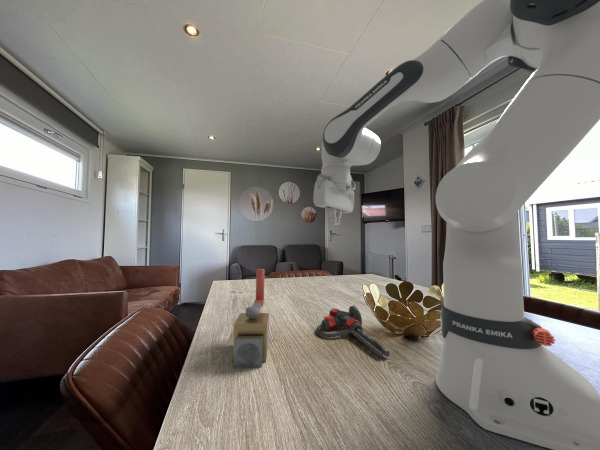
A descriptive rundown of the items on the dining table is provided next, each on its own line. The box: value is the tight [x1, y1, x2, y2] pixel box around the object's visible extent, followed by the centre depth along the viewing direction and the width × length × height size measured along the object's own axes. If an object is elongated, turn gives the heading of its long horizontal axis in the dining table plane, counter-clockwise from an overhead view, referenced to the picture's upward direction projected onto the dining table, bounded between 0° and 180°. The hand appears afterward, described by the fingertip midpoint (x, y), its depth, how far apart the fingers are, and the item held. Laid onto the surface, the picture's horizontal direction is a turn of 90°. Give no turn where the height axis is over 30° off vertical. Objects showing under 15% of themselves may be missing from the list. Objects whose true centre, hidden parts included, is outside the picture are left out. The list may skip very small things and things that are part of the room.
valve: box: [315, 305, 390, 358], centre depth 62 cm, size 6×26×15 cm
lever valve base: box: [232, 312, 270, 369], centre depth 52 cm, size 11×7×8 cm, turn 4°
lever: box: [245, 268, 266, 318], centre depth 57 cm, size 12×3×9 cm, turn 0°
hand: (334, 224), depth 69 cm, fingers closed
